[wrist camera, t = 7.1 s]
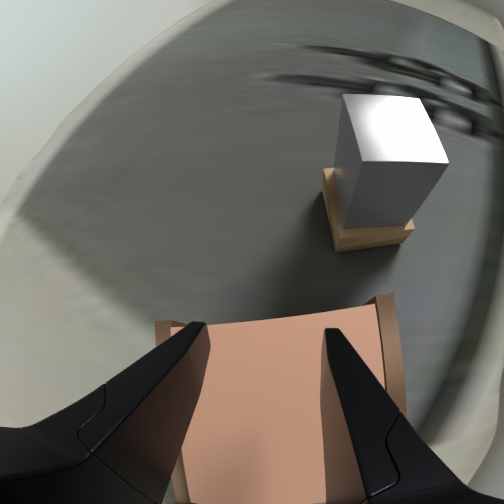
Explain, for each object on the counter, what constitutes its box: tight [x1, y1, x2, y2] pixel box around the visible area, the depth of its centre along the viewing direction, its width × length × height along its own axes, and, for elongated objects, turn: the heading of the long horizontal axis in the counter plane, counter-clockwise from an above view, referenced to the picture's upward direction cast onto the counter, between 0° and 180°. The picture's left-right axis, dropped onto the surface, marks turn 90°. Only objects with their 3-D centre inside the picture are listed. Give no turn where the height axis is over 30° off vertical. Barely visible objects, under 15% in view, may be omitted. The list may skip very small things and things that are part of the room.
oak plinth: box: [322, 168, 415, 253], centre depth 22 cm, size 6×6×3 cm
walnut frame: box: [155, 293, 406, 504], centre depth 15 cm, size 12×13×8 cm
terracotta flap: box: [170, 304, 385, 504], centre depth 12 cm, size 10×10×1 cm
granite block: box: [333, 94, 449, 229], centre depth 16 cm, size 5×5×8 cm
